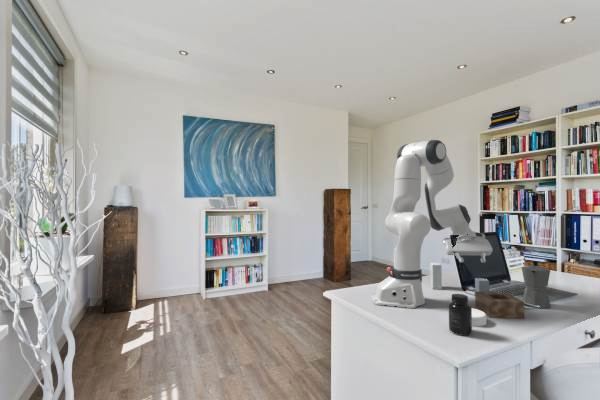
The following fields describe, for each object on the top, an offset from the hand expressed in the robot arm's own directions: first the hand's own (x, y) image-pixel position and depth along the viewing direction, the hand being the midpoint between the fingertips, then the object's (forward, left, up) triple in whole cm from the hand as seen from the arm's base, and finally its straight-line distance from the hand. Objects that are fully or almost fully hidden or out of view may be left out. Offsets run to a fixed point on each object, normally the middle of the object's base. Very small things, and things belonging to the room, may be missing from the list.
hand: (472, 261), depth 141 cm
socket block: (0, -23, -15) cm, 28 cm away
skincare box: (-14, +9, -15) cm, 22 cm away
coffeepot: (+19, -13, -15) cm, 28 cm away
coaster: (-14, -33, -15) cm, 39 cm away
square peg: (0, -9, -15) cm, 18 cm away
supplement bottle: (-21, -43, -15) cm, 50 cm away
